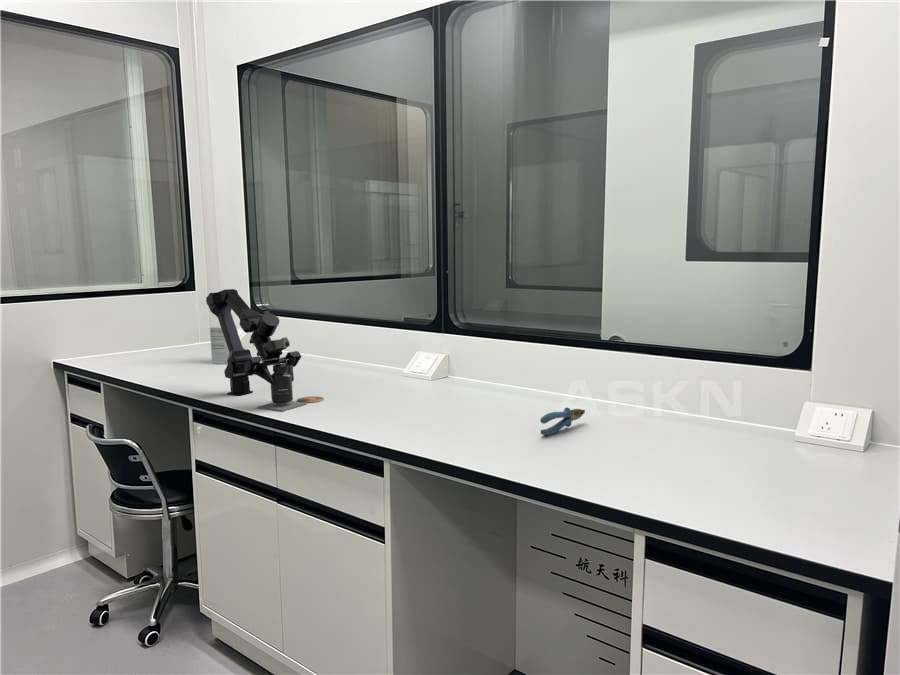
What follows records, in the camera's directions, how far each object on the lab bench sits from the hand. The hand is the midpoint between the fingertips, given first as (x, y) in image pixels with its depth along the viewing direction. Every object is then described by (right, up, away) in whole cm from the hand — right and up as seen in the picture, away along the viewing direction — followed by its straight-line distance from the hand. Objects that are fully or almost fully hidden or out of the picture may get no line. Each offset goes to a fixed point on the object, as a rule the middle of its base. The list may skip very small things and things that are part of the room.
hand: (283, 382), depth 218 cm
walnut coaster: (+7, -7, +10) cm, 14 cm away
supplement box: (-48, +3, +89) cm, 101 cm away
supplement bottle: (-1, -6, +2) cm, 7 cm away
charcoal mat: (-1, -8, +2) cm, 8 cm away
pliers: (+86, -11, -31) cm, 92 cm away
